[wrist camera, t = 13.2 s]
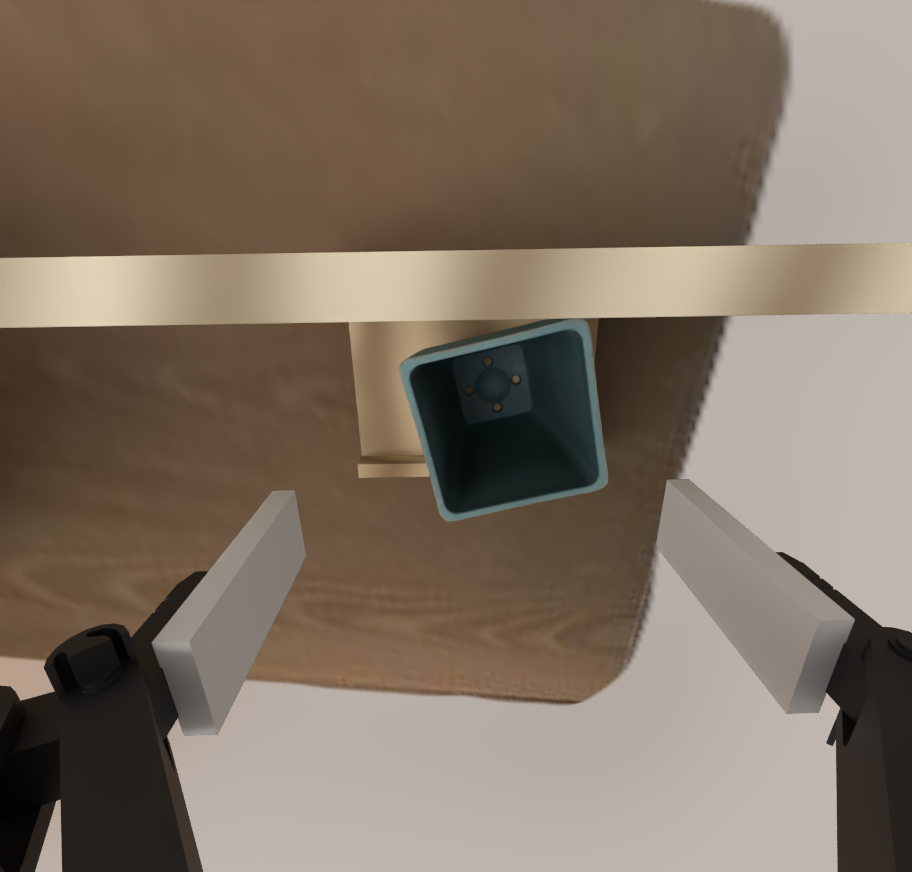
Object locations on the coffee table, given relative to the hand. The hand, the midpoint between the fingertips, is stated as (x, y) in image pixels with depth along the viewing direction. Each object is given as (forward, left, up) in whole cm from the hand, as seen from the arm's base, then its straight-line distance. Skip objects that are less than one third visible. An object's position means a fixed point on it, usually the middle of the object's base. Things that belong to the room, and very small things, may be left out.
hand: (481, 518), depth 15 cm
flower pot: (+2, +1, -15) cm, 15 cm away
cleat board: (0, +1, -19) cm, 19 cm away
